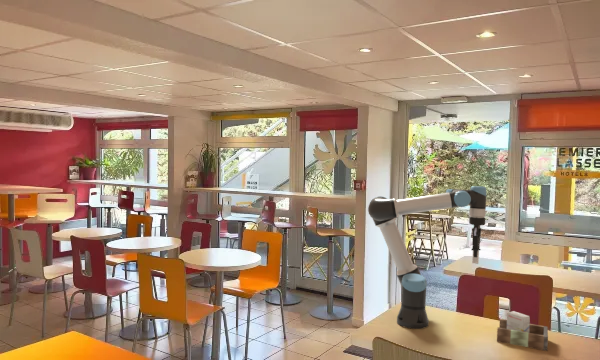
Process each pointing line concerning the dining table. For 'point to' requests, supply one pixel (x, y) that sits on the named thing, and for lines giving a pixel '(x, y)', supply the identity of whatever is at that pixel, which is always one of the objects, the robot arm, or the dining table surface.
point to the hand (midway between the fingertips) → (475, 263)
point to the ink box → (518, 321)
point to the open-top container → (524, 336)
